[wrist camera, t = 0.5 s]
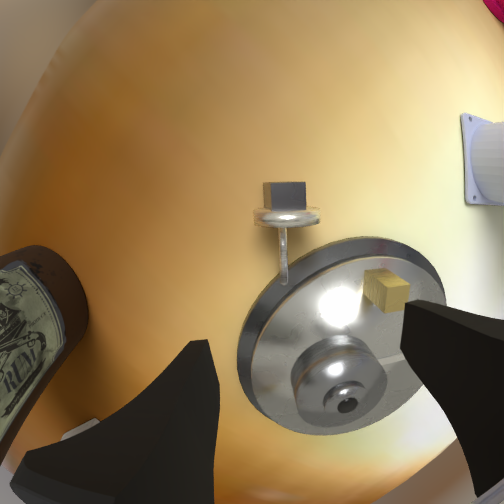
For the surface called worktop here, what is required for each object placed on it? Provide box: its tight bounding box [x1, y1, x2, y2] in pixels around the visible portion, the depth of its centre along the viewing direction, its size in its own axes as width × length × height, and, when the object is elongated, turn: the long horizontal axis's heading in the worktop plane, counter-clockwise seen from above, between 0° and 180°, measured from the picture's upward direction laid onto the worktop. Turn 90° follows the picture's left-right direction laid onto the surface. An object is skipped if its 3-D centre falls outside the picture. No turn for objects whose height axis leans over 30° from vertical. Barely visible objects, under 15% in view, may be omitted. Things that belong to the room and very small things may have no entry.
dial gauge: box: [253, 182, 320, 286], centre depth 16 cm, size 4×6×5 cm, turn 3°
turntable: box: [251, 254, 447, 435], centre depth 18 cm, size 17×17×4 cm
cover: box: [290, 335, 387, 428], centre depth 17 cm, size 6×6×4 cm
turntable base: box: [237, 236, 446, 420], centre depth 21 cm, size 19×19×1 cm
